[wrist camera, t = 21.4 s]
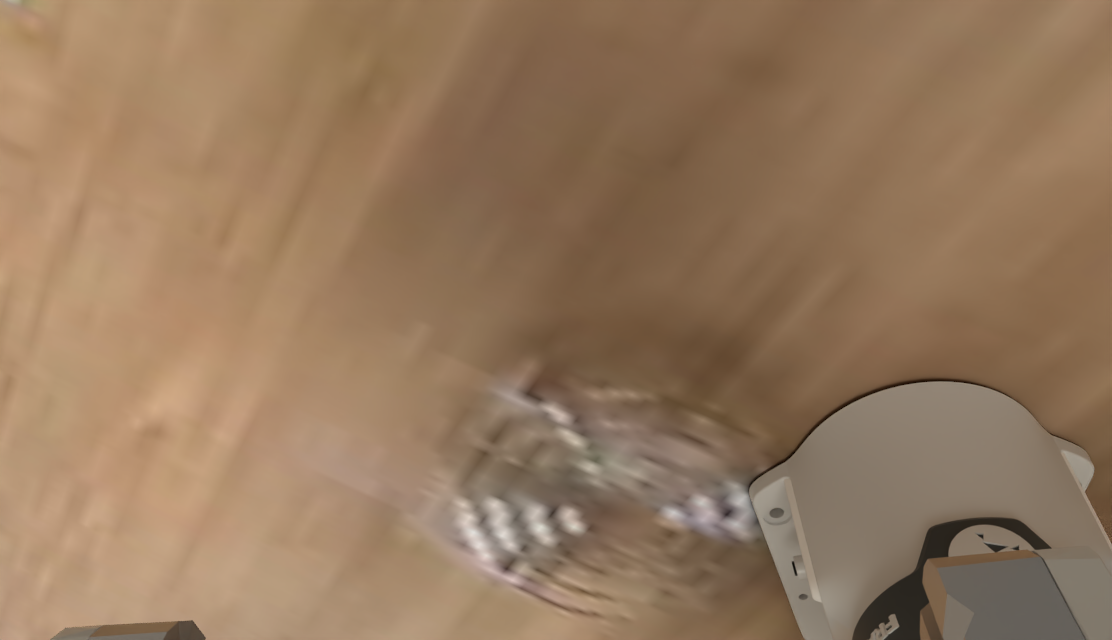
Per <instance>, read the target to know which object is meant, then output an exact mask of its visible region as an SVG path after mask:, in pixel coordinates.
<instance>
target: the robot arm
mask: <svg viewBox="0 0 1112 640" xmlns="http://www.w3.org/2000/svg"><path fill="white" fill-rule="evenodd" d="M1093 474H1094V466H1093V464H1092V462H1091V460H1090V457H1089V455H1088V453H1087V452H1086V451H1085V450H1084V449H1083V448H1081V447H1079V446H1077V445H1075V444H1073V443H1071V442H1068V441H1066V440H1063V439H1061V438H1058V437H1055V436H1052V435H1051V434H1049V433H1048V432H1047V431H1046V430H1045V429H1044V428H1043V427H1042V426H1041V425H1040V424H1039V423H1038V422H1037V420H1036V419H1035V418H1034V417H1033V416H1032V415H1031V413H1030V412H1029V411H1028V410H1026V409H1025V408H1024V407H1023V406H1022V405H1020V404H1019V403H1018V402H1016V401H1015V400H1013V399H1011V398H1010V397H1008V396H1006V395H1004V394H1002V393H999V392H997V391H994V390H992V389H989V388H985V387H982V386H978V385H973V384H967V383H960V382H942V381H939V382H922V383H914V384H907V385H902V386H898V387H894V388H889V389H886V390H883V391H880V392H877V393H874V394H871V395H869V396H866V397H864V398H862V399H859V400H857V401H855V402H853V403H851V404H849V405H848V406H846V407H844V408H842V409H841V410H839V411H838V412H836V413H835V414H833V415H832V416H830V417H829V418H828V419H826V420H825V421H824V422H823V423H822V424H820V425H819V426H818V427H817V428H816V429H815V430H814V431H813V432H812V433H811V434H810V435H809V436H808V438H807V439H806V440H805V441H804V443H803V444H802V445H801V446H800V448H799V449H798V450H797V451H796V452H795V453H794V455H793V456H792V457H791V458H789V459H788V460H787V461H786V462H784V463H782V464H781V465H779V466H777V467H775V468H774V469H772V470H770V471H768V472H767V473H765V474H764V475H762V476H761V477H759V478H758V479H757V480H755V481H754V482H753V484H752V485H751V486H750V489H749V496H750V499H751V502H752V504H753V507H754V510H755V513H756V515H757V518H758V521H759V523H760V526H761V529H762V531H763V534H764V537H765V539H766V542H767V544H768V547H769V550H770V552H771V555H772V558H773V560H774V563H775V566H776V568H777V571H778V574H779V576H780V579H781V581H782V584H783V587H784V589H785V592H786V595H787V597H788V600H789V603H790V605H791V608H792V611H793V613H794V616H795V618H796V621H797V624H798V626H799V629H800V631H801V634H802V636H803V637H804V639H805V640H1112V544H1111V542H1110V540H1109V538H1108V536H1107V534H1106V532H1105V530H1104V528H1103V526H1102V524H1101V522H1100V520H1099V519H1098V517H1097V515H1096V513H1095V511H1094V509H1093V507H1092V505H1091V503H1090V501H1089V499H1088V497H1087V496H1086V494H1085V491H1086V489H1087V487H1088V485H1089V483H1090V481H1091V479H1092V477H1093ZM774 508H777V509H774ZM205 639H206V638H205V636H204V635H203V634H202V632H201V631H200V630H199V628H198V627H197V626H196V624H195V623H194V622H193V621H174V622H155V623H136V624H117V625H99V626H85V627H71V628H65V629H64V630H62V631H61V632H60V633H58V634H57V635H56V636H54V637H53V638H52V639H50V640H205Z"/></svg>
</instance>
